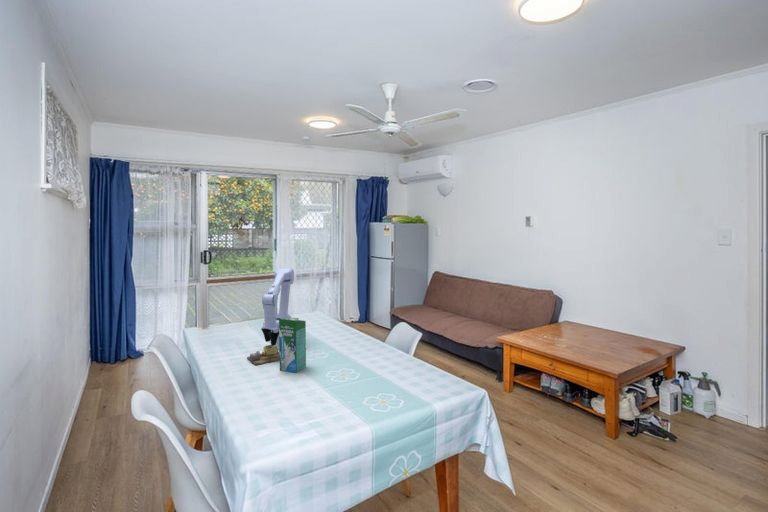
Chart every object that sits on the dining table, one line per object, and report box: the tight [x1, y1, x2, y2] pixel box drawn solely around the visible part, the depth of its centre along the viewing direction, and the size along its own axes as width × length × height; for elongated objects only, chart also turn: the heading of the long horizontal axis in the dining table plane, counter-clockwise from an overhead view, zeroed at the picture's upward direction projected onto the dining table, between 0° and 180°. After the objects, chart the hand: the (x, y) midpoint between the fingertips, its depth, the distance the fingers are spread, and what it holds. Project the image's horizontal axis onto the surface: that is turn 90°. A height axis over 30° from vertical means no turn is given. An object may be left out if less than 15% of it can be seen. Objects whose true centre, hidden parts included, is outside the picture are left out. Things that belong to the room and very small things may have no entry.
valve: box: [262, 344, 279, 357], centre depth 204 cm, size 8×4×6 cm, turn 129°
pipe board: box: [246, 350, 280, 367], centre depth 203 cm, size 16×12×5 cm
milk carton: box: [278, 316, 307, 374], centre depth 189 cm, size 9×9×25 cm
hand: (270, 343), depth 204 cm, fingers open, 7 cm apart
